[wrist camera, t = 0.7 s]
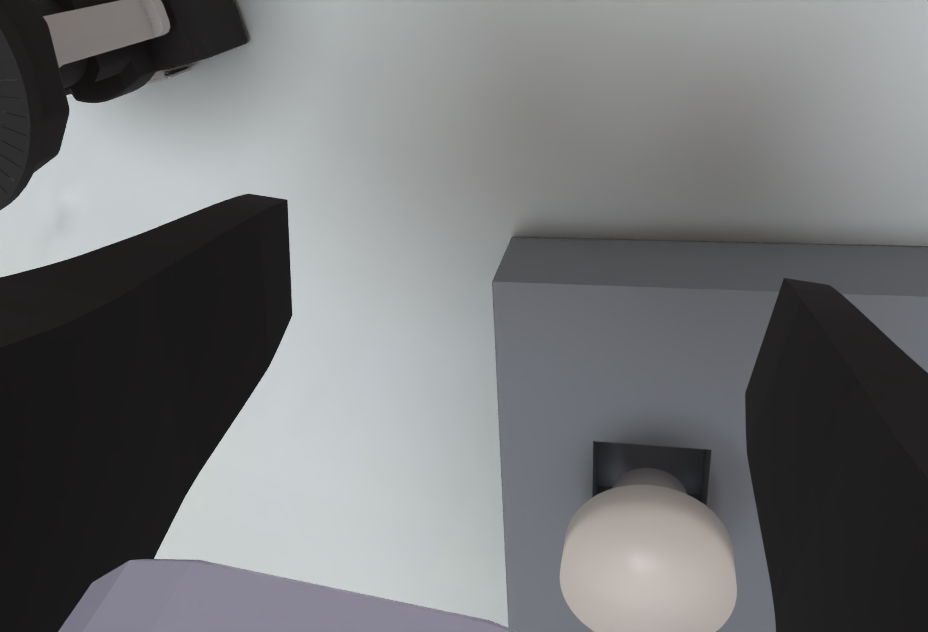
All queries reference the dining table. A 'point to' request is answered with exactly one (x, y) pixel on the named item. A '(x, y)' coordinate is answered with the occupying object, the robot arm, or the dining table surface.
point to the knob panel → (653, 384)
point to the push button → (90, 64)
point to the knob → (648, 559)
